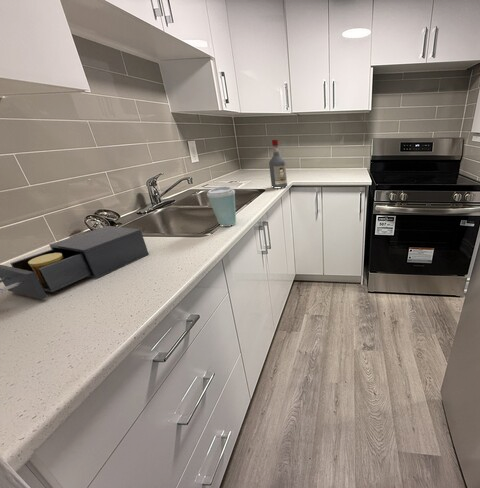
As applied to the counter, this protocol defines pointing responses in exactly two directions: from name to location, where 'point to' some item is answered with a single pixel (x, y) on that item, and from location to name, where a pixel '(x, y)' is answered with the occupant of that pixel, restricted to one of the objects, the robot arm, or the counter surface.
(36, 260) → the jar
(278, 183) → the liquor
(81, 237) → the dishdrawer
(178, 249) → the counter surface
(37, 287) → the drawer
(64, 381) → the counter surface
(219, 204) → the disposable coffee cup
